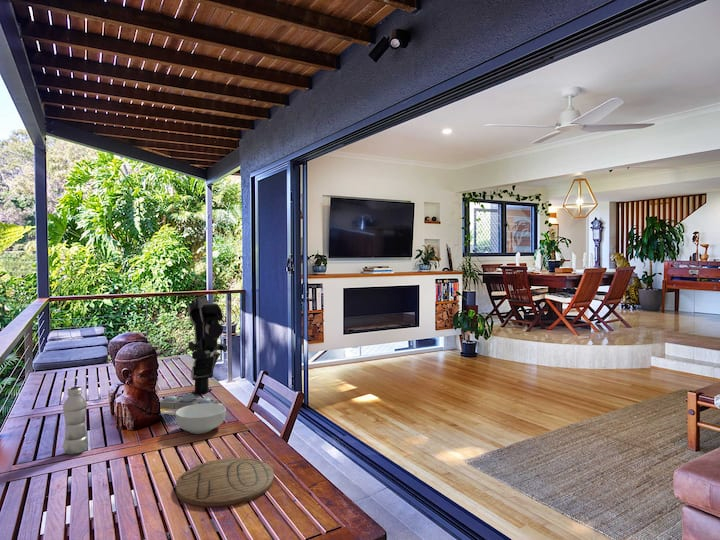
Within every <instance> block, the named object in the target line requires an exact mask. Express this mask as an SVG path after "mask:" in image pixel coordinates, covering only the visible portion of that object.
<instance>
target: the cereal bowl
mask: <svg viewBox="0 0 720 540" xmlns="http://www.w3.org/2000/svg"><path fill="white" fill-rule="evenodd" d="M220 404H221V403H218V404H214V403H203V404H195V405H190V406H186V407H183V408H180V409H178V410H177V411H176V413H175V415H174V416H175V422H176V424H177V426H178V427H179V428H180V429H182V430H184V431H186V432H189V433H190V434H195V435H197V434H198V435H199V434H205V433H208V432H211V431H212V430H213V429H216V428H218V427H219V426H221V424H223V423H224V421H225V418H226V413H227V409H226V406H225V405H224V404H223V405H220Z"/></svg>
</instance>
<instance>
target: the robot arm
mask: <svg viewBox="0 0 720 540" xmlns="http://www.w3.org/2000/svg"><path fill="white" fill-rule="evenodd" d="M193 300H194V301H192V302H191V303H189V305H188V309H187V314H188V317H189V320H190V322H191V323H192V325H193V327H194V328H193V329H194V339H195V340H192V341H190V342H188V348H187V349H188V350H190V351H191V352H192V353H191V355H192V356H191V357H192V359H194V361H193V363H192V365H193V366H192V367H191V371H190V372H191V373H190V379H191V380H192V381H194V390H193V391H191V394H202V395H203V394H207V393H209V392H211V391H212V389H213V388H209V386H210V384H209V383H210V381H209V379H213V377H214V371H215V366H216V364H217V362H218V360H219V358H220V356H221V355H222V353H220V352H219V351H222V352H226V351H228V346H227V344H226V343H218V340H219V339H220V337H221V336H222V334H223V333H224V332H223V331H224V328H223V326H222V324H220V323H219V321H220V322H221V321H223V313H222V309H221V307H220V306H219V304H218V303H215V302H214V303H213V302H212V303H211V302H210V301H209V300H208V298H207V297H203V296H202V297H198V296H197V297H195V298H194V299H193Z"/></svg>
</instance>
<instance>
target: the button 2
mask: <svg viewBox="0 0 720 540" xmlns="http://www.w3.org/2000/svg"><path fill="white" fill-rule="evenodd" d="M181 397H182V402H184V403H191V402H193V401H194V398H195V393H192V392H191V393H183V394H182V395H181Z"/></svg>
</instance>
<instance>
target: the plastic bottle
mask: <svg viewBox="0 0 720 540" xmlns="http://www.w3.org/2000/svg"><path fill="white" fill-rule="evenodd" d="M82 393H83V392H82V386H72V387H68V389H67V396H68V397H67V398H66V399H65V401H64V403H63V405H62V411H63V417H64V424H65V428H64V429H65V430H64V439H63V445H62V448H63V451H64V453H65V454H66V455H78V454H81V453H83V452H85V451H86V449H87V448H88V444H89V442H88V438H87V437H88V436H87V433H86V432H87V431H86V413H87V407H88V404H87V400H86V398H85V397H83V395H82Z"/></svg>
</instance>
